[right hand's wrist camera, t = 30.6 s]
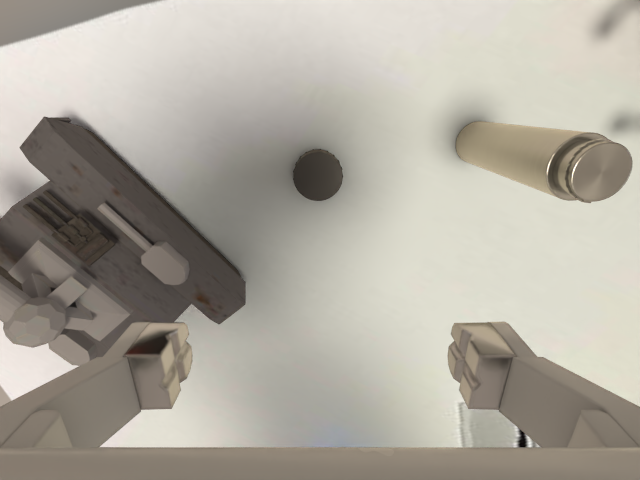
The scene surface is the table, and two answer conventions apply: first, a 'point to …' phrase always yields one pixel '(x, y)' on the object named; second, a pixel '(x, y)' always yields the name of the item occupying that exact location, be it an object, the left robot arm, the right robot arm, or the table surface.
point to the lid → (318, 175)
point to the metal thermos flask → (548, 159)
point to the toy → (100, 252)
